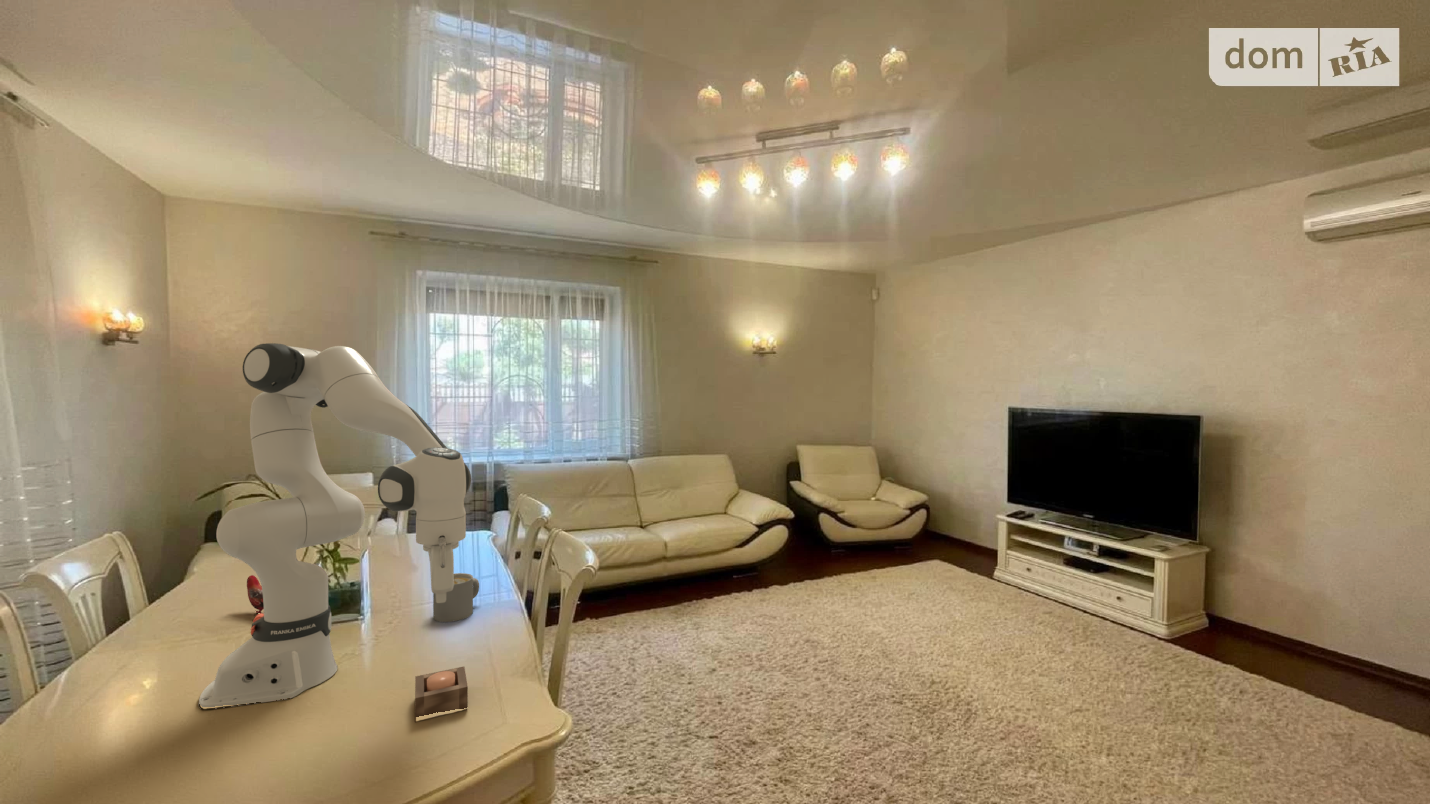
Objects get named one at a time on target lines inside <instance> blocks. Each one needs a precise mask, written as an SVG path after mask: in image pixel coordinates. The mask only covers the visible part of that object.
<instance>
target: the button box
mask: <svg viewBox="0 0 1430 804" xmlns="http://www.w3.org/2000/svg"><path fill="white" fill-rule="evenodd" d="M443 671H451V672H454V673H455V686H451V687H447V688H442V689H438V690H433V691H429V692H427V679H428V677H430V676H431V675H433V674H435V673H438V672H443ZM414 682H415V683H414V691H415V692H414V718H415V717H419V716H424V715H429V714H433V713H436V712H437V713H438V712H445V711H450V710H455V709H464V708H467V707H468V704H469V703H468V701H469V700H468V697H469V695H468V694H469V693H468V692H469V691H468V690H469V689H468V687H469V686H468V680H467V673H466V668H465V666H459V667H455V668H450V669H445V670H444V669H443V670H440V671H435V672H431V673H425V674H420V675H417V676H415V681H414ZM468 708H469V707H468Z"/></svg>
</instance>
